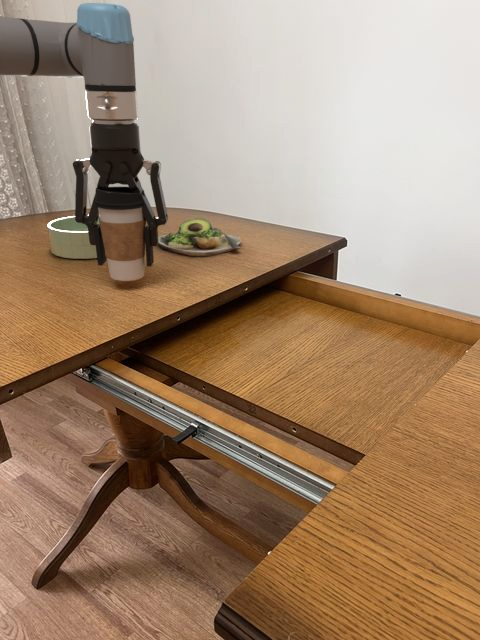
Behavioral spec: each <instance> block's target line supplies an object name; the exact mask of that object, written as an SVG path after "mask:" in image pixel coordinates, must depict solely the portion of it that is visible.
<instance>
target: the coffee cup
mask: <svg viewBox="0 0 480 640" xmlns="http://www.w3.org/2000/svg"><path fill="white" fill-rule="evenodd" d="M141 194H142V195H143V196H144V197H145V195H146V193H145V190H144V189H143V191H142V192H141ZM141 194H140V193H133V192H132V191H131V190H130V188H129V186H108V189H107V191H103V190H100V189H97V187H96V188H95V192H94V196H95V206H96V207H98V211H99V223H100V228H101V233H102V238H103V243H104V248H105V253H106V263H107V267H108V272H109V274H108V275H109V277H110V279H112V280H114V281H117V282H131V281H137V280H140V279H142V278H144V276H145V261H146V247H145V233H144V229H145V227H146V226H147V222H146V220H145V217H144V215H143V213H142V207H144V202H143V201H142V198H141Z"/></svg>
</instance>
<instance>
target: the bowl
mask: <svg viewBox="0 0 480 640" xmlns="http://www.w3.org/2000/svg"><path fill="white" fill-rule="evenodd" d="M87 215H88V216H89V214H87ZM97 224H100V223H99V218H98V222H97ZM47 232H48V238H49V246H50V251H51V253H52V254H53V255H54V256H57V257H60V258H65V259H73V260H74V259H75V260H77V259H78V260H79V259H80V260H81V259H82V260H89V259H97V253H96V245H91V244H90V242H89V234H88V227H87V226H86V225H85V224H83V223H77V222H76V221H75V215H73V216H67V217H61V218H57V219H54V220H51V221H50V222H48V223H47ZM105 256H106V253H105Z"/></svg>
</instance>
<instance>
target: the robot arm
mask: <svg viewBox="0 0 480 640" xmlns="http://www.w3.org/2000/svg"><path fill="white" fill-rule="evenodd" d="M76 11H77V12H76V22H61V21H50V20H49V21H48V20H41V19H40V20H39V19H30V18H21V17H11V16H1V15H0V77H45V78H47V77H48V78H63V79H64V78H67V79H72V78H83V82H84V91H85V101H86V110H87V117H88V119H89V120H92V122H90V123H89V124H88V130H89V138H90V139H89V140H90V148H91V153H90V156H89V158H84V159H82V158H78V159H76V160H74V161H73V162H72V167H73V170H74V174H75V200H74V201H75V204H74V205H75V207H74V210H75V211H74V216H75V221H76V222H77V223H83V224H85V225H86V226H87V227H88V234H89V242H90V244H91V245H96V253H97V258H96V261H97V266H99V267H100V266H101V267H103V266H104V264H105V263H107V257H106V256H105V248H104V243H103V238H102V233H101V228H100V224H97V222H98V218H99V211H98V207H96V206H95V195H94V196H93V199H92V203H91V206H90V210H89V213H88V214H87V210H88V209H87V207H88V180H89V177H88V173H90V171H91V167H92V168H93V170H94V171H95V172H96V173H97V175H98V176H99V177H98V181H97V184H96V188H97V189H100V190H103V191H107V189H108V187H110V185H115V184H120V185H123V186H124V185H127V187H129V188H130V190H131V191H132V192H133V193H140V194H141V192H142V191H143V190H144V188H143V187H142V183H141V180H140V178H139V176H138V175H139V173H140V172H141V171H142V169H143V168H144V169H145V171H146V175H148V176H150V177H149V181H150V185H151V190H152V195H153V200H154V204H155V209H156V214H157V216H156V214H155V212H154V210H153V208H152V205H151V204H150V200H149V199H148V198H147V197H148V196H147V195H146V194H145V197H144V196H143V195H142V194H141V198H142V201H143V202H144V207H142V213H143V215H144V217H145V220H146V227H145V229H144V233H145V261H146V267H152V266H153V265H154V263H155V261H154V259H155V258H154V247H157V246H158V245H157V244H158V237H159V227H160V226H164V225H166V224H167V222H168V220H169V216H168V212H167V211H168V210H167V205H166V200H165V196H164V191H163V185H162V181H161V170H162V169H161V168H162V163H161V162H160V161H159V160H155V161H152V160H148V159H145V158H144V156H143V155H142V154H143V153H142V151H141V138H140V126H139V125H138V123H136V121H137V120H138V119H139V107H138V94H137V87H136V86H137V83H136V65H135V64H136V62H135V48H134V47H135V45H134V44H135V43H134V42H135V37H134V35H133V28H132V19H131V13H130V11H129V10H128V9H127V8H126V7H125V6H124V5H120V4H114V3H106V2H84V3H80V4H79V5H78V7H77V10H76ZM88 215H89V216H88Z"/></svg>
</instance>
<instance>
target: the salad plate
mask: <svg viewBox="0 0 480 640" xmlns="http://www.w3.org/2000/svg"><path fill="white" fill-rule="evenodd" d="M240 245H241V237H239V236H235V235H231V234H227V233H224V232H223V231H222V230H221V229H220V228H217V227H212V224H211V222H210V221H208V220H207V219H204V218H192V219H188V220H185V221H183V222H181V223H180V225H179V226H178V231H177V232H174V233H171V232H170V233H168V234H163V235H160V236H159V235H158V244H157V246H158V247H159V248H160V249H162V250H165V251H167V252H172V253H175V254H180V255H184V256H190V257H213V256H218V255H221V254H224V253H228V252H231V251H233V250H240V249H241V247H240Z"/></svg>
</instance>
